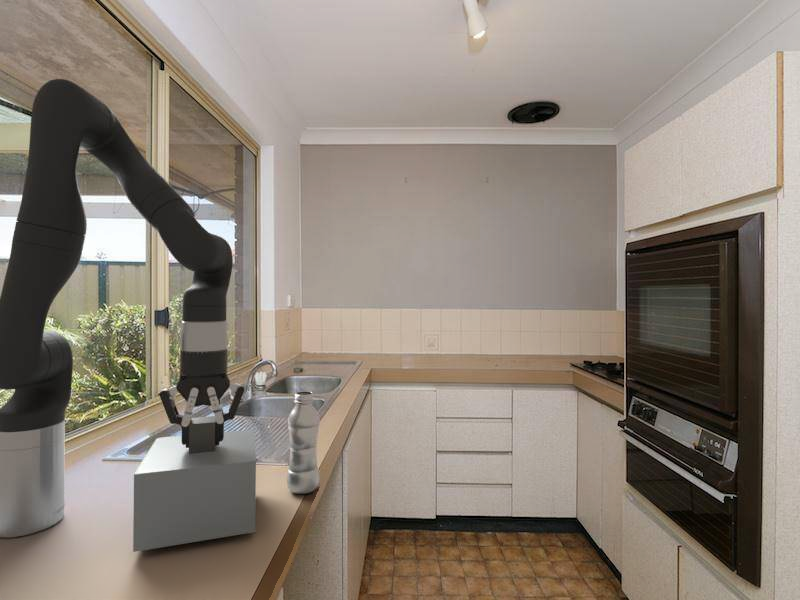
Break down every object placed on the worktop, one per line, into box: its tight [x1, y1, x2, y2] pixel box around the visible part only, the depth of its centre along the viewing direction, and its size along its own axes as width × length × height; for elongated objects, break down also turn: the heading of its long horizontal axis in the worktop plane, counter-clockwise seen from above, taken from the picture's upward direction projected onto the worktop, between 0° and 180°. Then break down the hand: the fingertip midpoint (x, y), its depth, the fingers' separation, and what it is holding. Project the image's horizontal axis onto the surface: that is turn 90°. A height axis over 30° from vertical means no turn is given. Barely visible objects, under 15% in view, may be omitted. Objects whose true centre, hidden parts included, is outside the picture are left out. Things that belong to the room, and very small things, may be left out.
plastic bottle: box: [286, 390, 321, 495], centre depth 87 cm, size 6×7×20 cm
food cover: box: [132, 415, 257, 553], centre depth 74 cm, size 17×17×17 cm
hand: (203, 444), depth 74 cm, fingers closed on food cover, 4 cm apart
